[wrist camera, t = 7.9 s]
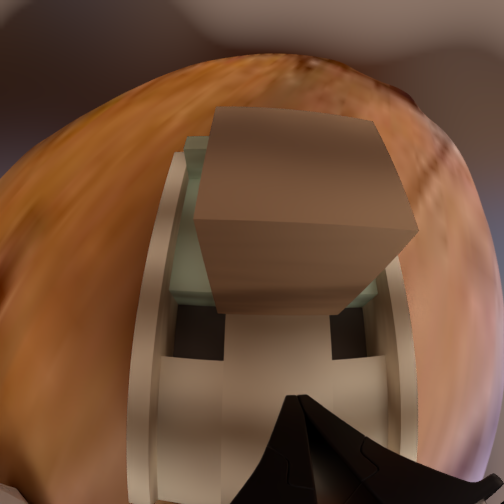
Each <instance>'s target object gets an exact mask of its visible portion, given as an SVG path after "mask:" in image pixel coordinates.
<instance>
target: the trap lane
mask: <svg viewBox="0 0 504 504" xmlns="http://www.w3.org/2000/svg"><path fill="white" fill-rule="evenodd" d="M208 140H209V136H191V137H187V139H186V143H185V146H184V152H175V153H174V156H173V159H172V163H171V166H170V169H169V172H168V176H167V179H166V183H165V186H164V190H163V193H162V197H161V201H160V204H159V208H158V212H157V216H156V220H155V224H154V228H153V233H152V237H151V241H150V246H149V250H148V255H147V260H146V265H145V270H144V275H143V280H142V286H141V291H140V297H139V303H138V309H137V316H136V323H135V330H134V338H133V346H132V355H131V365H130V376H129V389H128V406H127V483H128V498H129V502H130V503H133V504H154V503H155V502H156V501H157V500H158V499H159V500H164V501H170V502H175V503H182V504H230V503H231V501H232V500H233V499H234V497H235V496H236V495H237V493H238V492H239V491H240V489H241V488H242V487H243V485H244V484H245V483H246V481H247V480H248V479H249V477H250V476H251V474H252V473H253V471H254V470H255V468H256V467H257V465H258V463H259V462H260V459H261V457H262V455H263V453H264V451H265V448H266V446H267V444H268V441H269V439H270V436H271V434H272V431H273V428H274V426H275V423H276V420H277V418H278V415H279V412H280V410H281V407H282V404H283V401H284V398H285V396H286V395H296V396H297V395H302V394H307V395H309V396H310V397H311V398H313V399H314V400H315V401H317V402H318V403H319V404H321V405H322V406H324V407H325V408H326V409H328V410H329V411H330V412H332V413H333V414H335V415H336V416H337V417H339V418H340V419H342V420H343V421H345V422H346V423H347V424H349V425H350V426H352V427H353V428H355V429H356V430H358V431H359V432H361V433H362V434H364V435H365V436H367V437H369V438H370V439H372V440H373V441H375V442H377V443H378V444H380V445H382V446H383V447H385V448H387V449H389V450H391V451H393V452H395V453H397V454H399V455H402V456H404V457H406V458H408V459H411V460H413V461H415V462H416V461H417V444H418V392H417V374H416V362H415V351H414V342H413V334H412V327H411V320H410V314H409V307H408V302H407V296H406V291H405V286H404V281H403V276H402V271H401V267H400V262H399V258H398V255H397V256H396V257H395V258H394V259H393V260H392V262H391V263H390V264H389V265H388V266H387V267H386V268H385V269H384V270H383V271H382V272H381V273H380V274H379V275H378V276H377V277H376V278H375V279H374V280H373V281H372V282H371V283H370V284H369V285H368V286H367V287H366V288H365V289H364V290H363V291H362V292H361V293H360V294H359V295H358V296H357V297H356V298H355V299H354V300H353V301H352V302H351V303H350V304H349V305H348V306H347V307H346V308H345V309H344V310H342V311H341V312H340V313H339V314H338V315H242V314H218V313H217V309H216V305H215V302H214V298H213V295H212V291H211V287H210V284H209V280H208V276H207V272H206V268H205V265H204V261H203V257H202V253H201V249H200V245H199V241H198V237H197V232H196V228H195V224H194V220H193V218H194V212H195V206H196V201H197V195H198V190H199V184H200V179H201V174H202V169H203V164H204V159H205V154H206V149H207V145H208Z"/></svg>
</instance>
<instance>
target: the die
mask: <svg viewBox="0 0 504 504" xmlns="http://www.w3.org/2000/svg"><path fill="white" fill-rule="evenodd" d="M0 504H29V503H28V502H27V501H26V500H25V499H24V497H23V496H22V495H21V494H20V493H19V491H18V490H17V489H16V488H14V487H10V486H7V485H4V484H1V483H0Z"/></svg>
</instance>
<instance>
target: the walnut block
mask: <svg viewBox="0 0 504 504" xmlns="http://www.w3.org/2000/svg"><path fill="white" fill-rule="evenodd" d="M193 220H194V224H195V228H196V232H197V237H198V241H199V245H200V249H201V253H202V257H203V261H204V265H205V268H206V272H207V276H208V280H209V284H210V287H211V291H212V295H213V298H214V302H215V305H216V309H217V313H218V314H242V315H338V314H339V313H340V312H341V311H342V310H344V309H345V308H346V307H347V306H348V305H349V304H350V303H351V302H352V301H353V300H354V299H355V298H356V297H357V296H358V295H359V294H360V293H361V292H362V291H363V290H364V289H365V288H366V287H367V286H368V285H369V284H370V283H371V282H372V281H373V280H374V279H375V278H376V277H377V276H378V275H379V274H380V273H381V272H382V271H383V270H384V269H385V268H386V267H387V266H388V265H389V264H390V263H391V262H392V260H393V259H394V258H395V257H396V256H397V255H398V254H399V253H400V252H401V251H402V250H403V248H404V247H405V246H406V245H407V244H408V243H409V242H410V241H411V239H412V238H413V237H414V236H415V235H416V234H417V232H418V231H419V229H418V226H417V223H416V220H415V217H414V215H413V212H412V209H411V206H410V203H409V201H408V198H407V195H406V193H405V190H404V188H403V185H402V183H401V180H400V178H399V176H398V173H397V171H396V168H395V166H394V164H393V162H392V159H391V157H390V155H389V153H388V151H387V149H386V147H385V144H384V142H383V140H382V138H381V136H380V134H379V132H378V130H377V128H376V126H375V125H374V123H373V121H368V120H363V119H357V118H352V117H346V116H340V115H333V114H326V113H319V112H310V111H301V110H291V109H278V108H261V107H216V109H215V114H214V118H213V122H212V126H211V131H210V135H209V140H208V145H207V149H206V154H205V159H204V164H203V169H202V174H201V179H200V184H199V190H198V195H197V201H196V206H195V212H194V218H193Z"/></svg>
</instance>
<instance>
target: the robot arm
mask: <svg viewBox="0 0 504 504" xmlns="http://www.w3.org/2000/svg"><path fill="white" fill-rule="evenodd" d="M503 484H504V483H503V481H502V480H501V478H500V477H498V476H497V475H496V474H494V473H493V474H490V475H489V476H487V477H486V478H484V479H483V480H481V481H479V482H467V481H464V480H461V479H459V478H456V477H453V476H450V475H447V474H445V473H442V472H439V471H437V470H434V469H432V468H429V467H427V466H424V465H422V464H420V463H417V462H415V461H413V460H411V459H408V458H406V457H404V456H402V455H399V454H397V453H395V452H393V451H391V450H389V449H387V448H385V447H383V446H382V445H380V444H378V443H377V442H375V441H373V440H372V439H370V438H369V437H367V436H365V435H364V434H362V433H361V432H359V431H358V430H356V429H355V428H353V427H352V426H350V425H349V424H347V423H346V422H345V421H343V420H342V419H340V418H339V417H337V416H336V415H335V414H333V413H332V412H330V411H329V410H328V409H326V408H325V407H324V406H322V405H321V404H319V403H318V402H317V401H315V400H314V399H313V398H311V397H310V396H309V395H307V394H302V395H297V396H296V395H286V396H285V398H284V401H283V404H282V407H281V410H280V412H279V415H278V418H277V420H276V423H275V426H274V428H273V431H272V434H271V436H270V439H269V441H268V444H267V446H266V448H265V451H264V453H263V455H262V457H261V459H260V462H259V463H258V465H257V467H256V468H255V470H254V471H253V473H252V474H251V476H250V477H249V479H248V480H247V481H246V483H245V484H244V485H243V487H242V488H241V489H240V491H239V492H238V493H237V495H236V496H235V497H234V499H233V500H232V501H231V503H230V504H487V503H486V500H487V499H488V498H489V497H490V496H492V495H493V494H494V493H495V492H496V491H497V490H498V489H499V488H500V487H501V486H502V485H503ZM501 504H504V501H503V502H502V503H501Z"/></svg>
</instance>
